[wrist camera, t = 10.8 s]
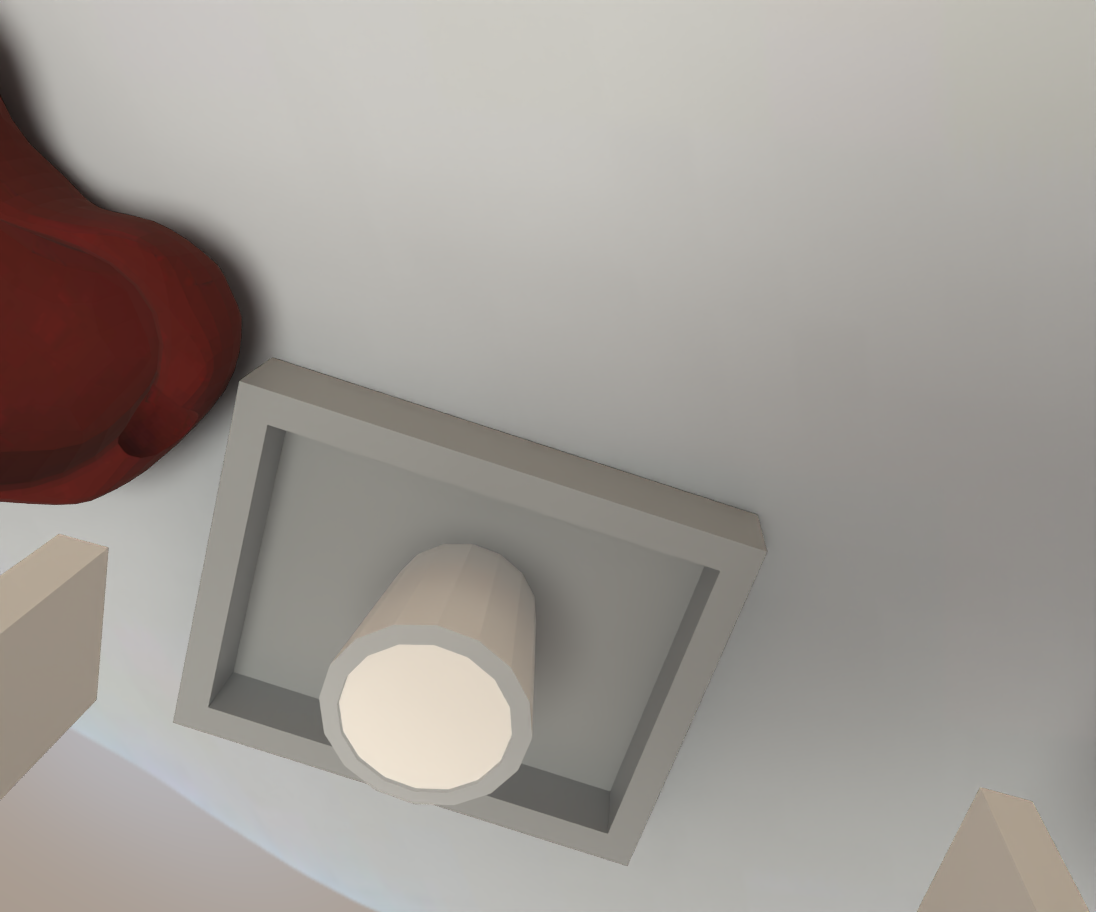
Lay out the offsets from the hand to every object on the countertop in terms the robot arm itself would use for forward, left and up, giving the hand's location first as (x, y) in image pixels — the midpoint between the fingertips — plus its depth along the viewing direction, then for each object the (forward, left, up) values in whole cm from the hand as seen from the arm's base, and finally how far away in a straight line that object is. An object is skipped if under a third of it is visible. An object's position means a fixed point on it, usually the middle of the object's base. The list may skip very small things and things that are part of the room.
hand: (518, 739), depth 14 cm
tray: (+2, +11, -21) cm, 23 cm away
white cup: (+2, +10, -20) cm, 23 cm away
